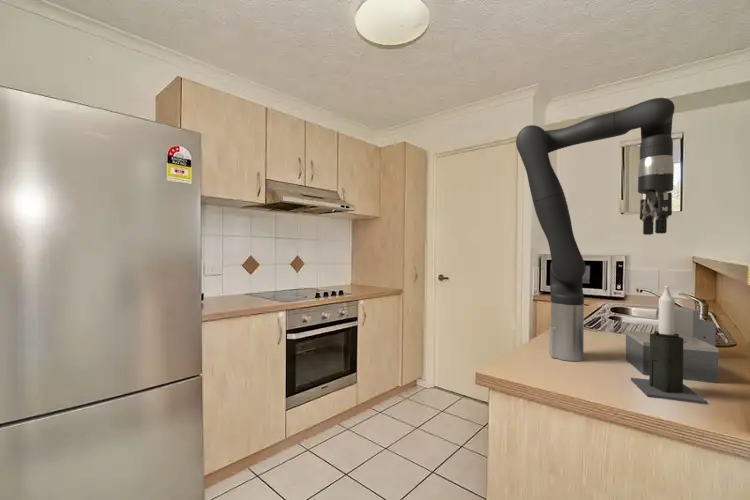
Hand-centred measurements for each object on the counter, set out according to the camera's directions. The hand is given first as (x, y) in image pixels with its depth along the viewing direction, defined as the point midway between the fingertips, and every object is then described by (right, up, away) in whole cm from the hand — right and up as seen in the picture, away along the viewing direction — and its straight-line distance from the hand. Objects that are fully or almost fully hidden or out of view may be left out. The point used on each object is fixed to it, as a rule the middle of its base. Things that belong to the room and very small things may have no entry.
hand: (654, 234), depth 94 cm
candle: (-6, -38, -11) cm, 40 cm away
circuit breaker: (+26, -39, +19) cm, 51 cm away
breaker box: (+7, -39, +4) cm, 39 cm away
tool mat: (-6, -39, -11) cm, 41 cm away
